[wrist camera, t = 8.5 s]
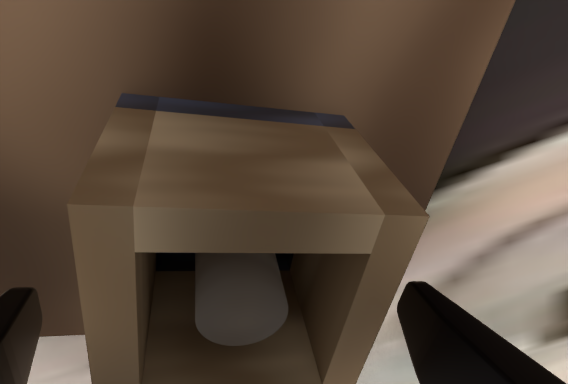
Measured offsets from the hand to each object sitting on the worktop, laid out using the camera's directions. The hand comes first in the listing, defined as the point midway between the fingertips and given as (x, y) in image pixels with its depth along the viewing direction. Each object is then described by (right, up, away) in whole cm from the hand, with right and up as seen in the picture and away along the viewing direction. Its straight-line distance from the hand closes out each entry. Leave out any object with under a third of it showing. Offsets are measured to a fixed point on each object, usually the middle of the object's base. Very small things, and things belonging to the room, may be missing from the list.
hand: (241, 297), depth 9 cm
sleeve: (-1, +2, +3) cm, 4 cm away
